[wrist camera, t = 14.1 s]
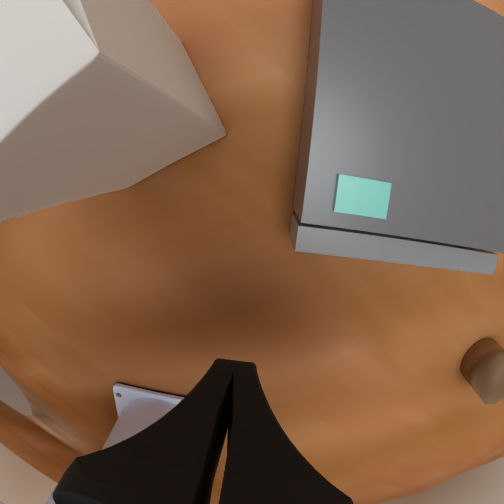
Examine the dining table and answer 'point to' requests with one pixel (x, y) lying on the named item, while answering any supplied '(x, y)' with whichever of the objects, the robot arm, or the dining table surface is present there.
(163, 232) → the dining table surface
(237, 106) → the dining table surface
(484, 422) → the dining table surface
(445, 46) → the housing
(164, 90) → the milk carton
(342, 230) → the grey drawer
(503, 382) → the brown cylinder
